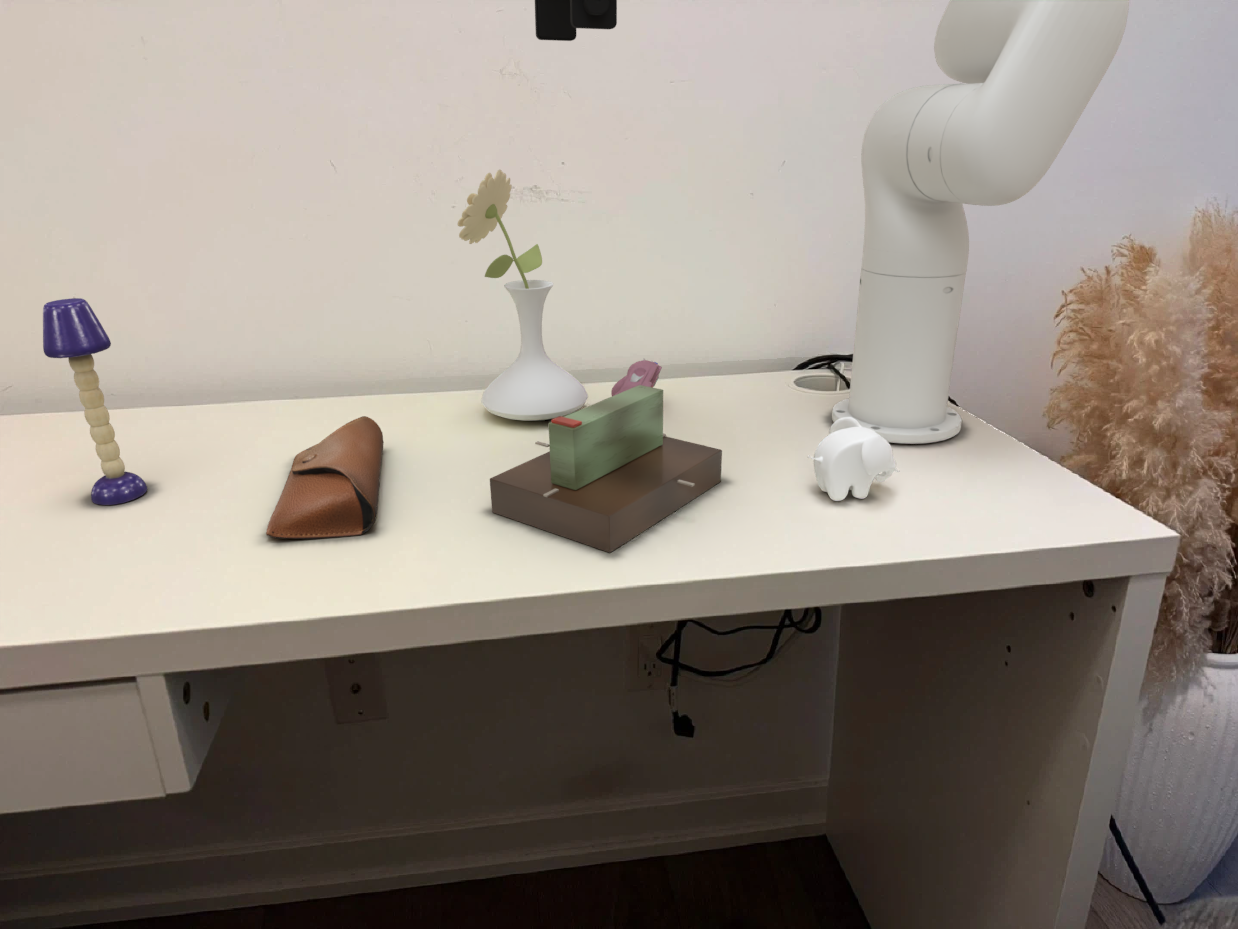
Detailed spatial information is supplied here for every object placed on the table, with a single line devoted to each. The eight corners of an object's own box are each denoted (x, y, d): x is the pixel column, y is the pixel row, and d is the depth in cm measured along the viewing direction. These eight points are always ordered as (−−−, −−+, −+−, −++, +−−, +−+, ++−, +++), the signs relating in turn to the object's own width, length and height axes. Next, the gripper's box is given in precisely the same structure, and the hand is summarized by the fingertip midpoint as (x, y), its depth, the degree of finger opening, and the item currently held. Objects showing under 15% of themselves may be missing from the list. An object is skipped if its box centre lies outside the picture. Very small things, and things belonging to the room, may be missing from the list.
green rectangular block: (639, 438, 75) (639, 381, 73) (663, 444, 74) (663, 386, 72) (550, 483, 66) (547, 419, 64) (575, 490, 65) (573, 426, 63)
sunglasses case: (290, 453, 80) (319, 392, 78) (362, 482, 82) (391, 423, 81) (262, 540, 64) (298, 464, 62) (352, 572, 66) (388, 500, 65)
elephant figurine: (913, 505, 69) (922, 436, 67) (821, 515, 67) (827, 444, 65) (873, 473, 75) (881, 409, 73) (788, 482, 74) (793, 416, 71)
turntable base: (594, 447, 82) (593, 416, 81) (743, 486, 73) (744, 452, 72) (472, 506, 70) (469, 471, 69) (632, 561, 61) (632, 522, 60)
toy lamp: (76, 508, 70) (19, 308, 64) (96, 486, 75) (45, 296, 68) (139, 502, 71) (89, 304, 65) (155, 481, 76) (110, 293, 69)
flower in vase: (540, 390, 99) (529, 163, 90) (610, 411, 92) (605, 166, 82) (448, 417, 91) (424, 169, 81) (516, 443, 83) (499, 173, 74)
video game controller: (628, 444, 87) (659, 387, 84) (589, 423, 87) (618, 365, 84) (645, 413, 96) (673, 360, 93) (609, 394, 96) (636, 341, 93)
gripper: (670, -299, 50) (664, 25, 57) (584, -202, 66) (587, 45, 72) (548, -320, 48) (555, 20, 54) (488, -214, 63) (499, 42, 70)
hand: (573, 34), depth 63 cm, fingers open, 9 cm apart
